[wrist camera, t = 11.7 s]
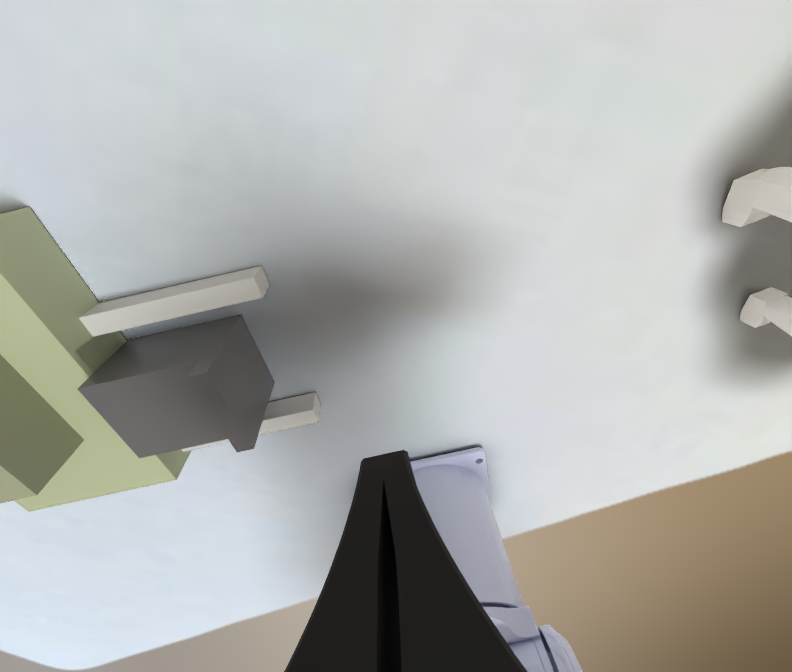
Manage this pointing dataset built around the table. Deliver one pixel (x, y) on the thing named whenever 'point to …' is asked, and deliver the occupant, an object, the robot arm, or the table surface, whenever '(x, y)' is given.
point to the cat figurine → (751, 201)
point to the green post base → (86, 371)
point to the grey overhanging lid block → (184, 388)
